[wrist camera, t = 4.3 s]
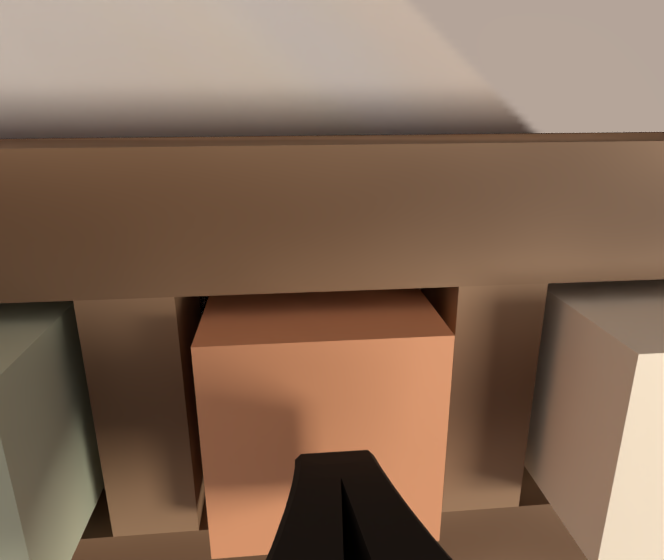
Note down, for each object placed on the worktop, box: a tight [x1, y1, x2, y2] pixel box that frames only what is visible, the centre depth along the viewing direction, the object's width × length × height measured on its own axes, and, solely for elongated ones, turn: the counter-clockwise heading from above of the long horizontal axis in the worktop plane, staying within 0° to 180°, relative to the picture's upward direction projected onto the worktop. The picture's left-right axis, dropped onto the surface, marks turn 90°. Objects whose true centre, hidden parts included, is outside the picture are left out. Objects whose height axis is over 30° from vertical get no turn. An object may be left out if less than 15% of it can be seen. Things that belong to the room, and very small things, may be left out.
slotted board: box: [0, 132, 664, 560], centre depth 14 cm, size 12×24×3 cm, turn 90°
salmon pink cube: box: [191, 288, 455, 559], centre depth 13 cm, size 5×5×4 cm
